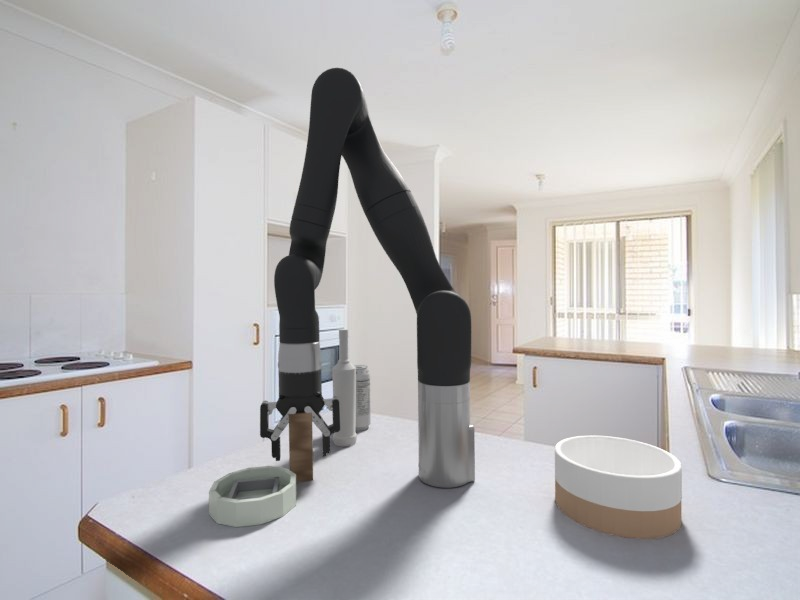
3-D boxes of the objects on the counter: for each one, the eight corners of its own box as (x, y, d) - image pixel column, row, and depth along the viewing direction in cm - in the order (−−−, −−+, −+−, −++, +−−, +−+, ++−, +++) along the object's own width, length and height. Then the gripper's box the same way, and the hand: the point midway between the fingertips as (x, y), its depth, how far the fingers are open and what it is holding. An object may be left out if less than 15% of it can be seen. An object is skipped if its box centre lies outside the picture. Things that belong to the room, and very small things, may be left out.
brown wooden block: (313, 471, 81) (312, 406, 80) (313, 480, 77) (312, 412, 76) (290, 473, 80) (289, 408, 80) (289, 482, 76) (288, 414, 76)
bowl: (697, 509, 65) (698, 454, 65) (656, 556, 54) (656, 489, 54) (585, 474, 78) (585, 428, 78) (533, 506, 67) (533, 452, 67)
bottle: (352, 447, 93) (351, 330, 92) (329, 446, 94) (328, 330, 93) (359, 439, 98) (358, 328, 97) (337, 438, 99) (336, 328, 98)
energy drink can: (359, 422, 111) (358, 363, 110) (375, 427, 106) (375, 366, 106) (340, 427, 106) (340, 366, 106) (357, 433, 102) (356, 369, 102)
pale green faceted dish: (297, 483, 75) (297, 463, 75) (294, 520, 63) (294, 496, 63) (220, 490, 73) (219, 470, 73) (201, 531, 61) (201, 506, 61)
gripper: (338, 362, 83) (340, 447, 83) (260, 365, 80) (262, 453, 80) (341, 368, 76) (342, 462, 76) (255, 372, 73) (257, 469, 73)
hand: (301, 457), depth 78 cm, fingers open, 7 cm apart
